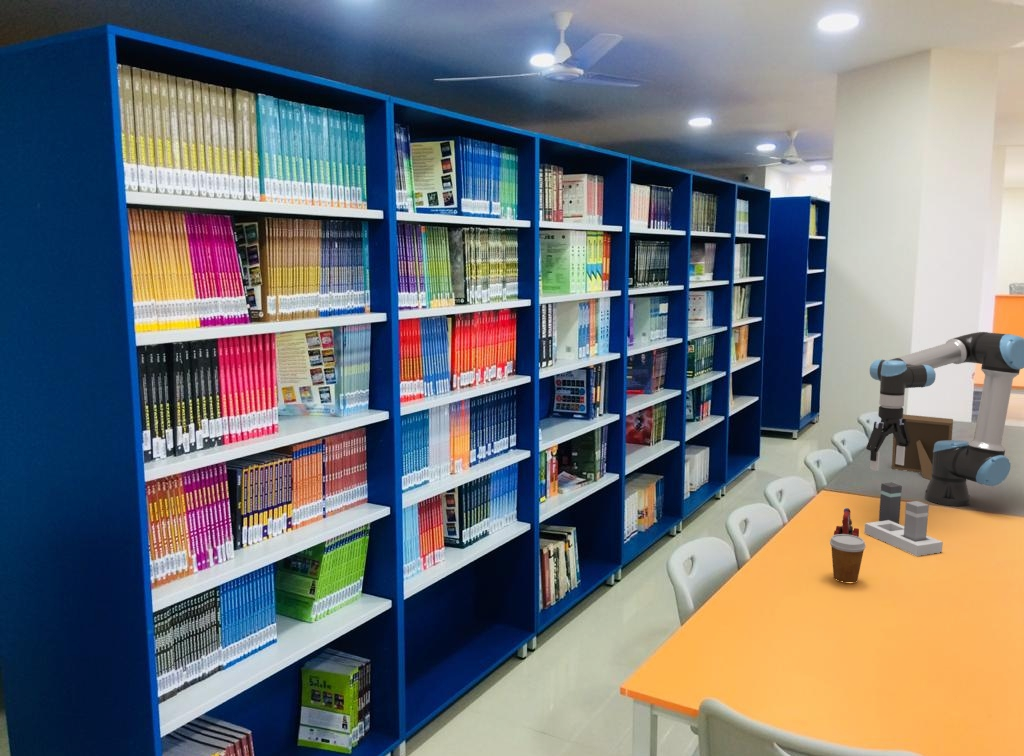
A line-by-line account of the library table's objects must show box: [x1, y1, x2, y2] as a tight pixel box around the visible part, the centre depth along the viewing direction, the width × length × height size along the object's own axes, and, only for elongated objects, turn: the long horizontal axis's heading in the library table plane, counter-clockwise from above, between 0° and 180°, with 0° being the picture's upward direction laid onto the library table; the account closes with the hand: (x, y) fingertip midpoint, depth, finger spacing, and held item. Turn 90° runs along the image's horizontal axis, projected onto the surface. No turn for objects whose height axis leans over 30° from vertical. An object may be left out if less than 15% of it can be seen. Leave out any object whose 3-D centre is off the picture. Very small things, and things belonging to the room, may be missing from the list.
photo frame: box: [891, 413, 954, 481], centre depth 332 cm, size 15×22×25 cm
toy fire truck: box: [833, 508, 860, 537], centre depth 255 cm, size 7×12×10 cm, turn 152°
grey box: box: [878, 482, 903, 524], centre depth 271 cm, size 5×5×14 cm
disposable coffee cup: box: [829, 534, 867, 583], centre depth 224 cm, size 10×10×12 cm
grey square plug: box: [903, 500, 930, 542], centre depth 248 cm, size 5×5×14 cm
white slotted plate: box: [863, 520, 944, 557], centre depth 254 cm, size 10×22×4 cm, turn 18°
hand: (887, 467), depth 269 cm, fingers open, 13 cm apart
